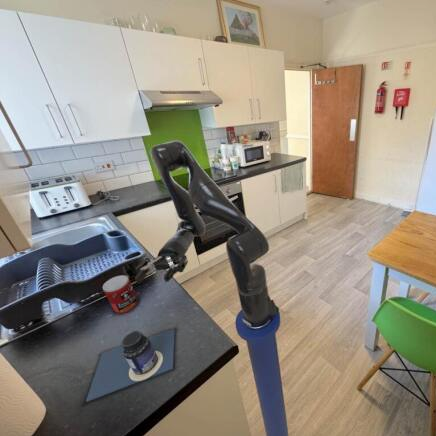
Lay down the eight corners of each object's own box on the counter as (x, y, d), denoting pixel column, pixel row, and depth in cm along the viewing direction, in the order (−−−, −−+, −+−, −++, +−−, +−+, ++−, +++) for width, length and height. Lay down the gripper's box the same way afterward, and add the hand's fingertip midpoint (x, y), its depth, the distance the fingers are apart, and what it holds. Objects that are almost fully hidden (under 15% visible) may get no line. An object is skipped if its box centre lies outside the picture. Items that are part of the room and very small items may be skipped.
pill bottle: (160, 351, 70) (147, 325, 65) (156, 371, 64) (142, 344, 59) (136, 358, 68) (122, 332, 63) (130, 379, 63) (114, 352, 58)
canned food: (121, 317, 83) (108, 293, 78) (110, 308, 87) (97, 285, 82) (143, 302, 88) (132, 279, 83) (132, 295, 92) (121, 272, 87)
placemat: (175, 329, 77) (174, 328, 77) (173, 369, 65) (172, 368, 65) (102, 353, 71) (101, 352, 70) (86, 403, 59) (85, 402, 58)
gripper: (151, 242, 83) (122, 271, 68) (192, 239, 83) (171, 268, 68) (158, 259, 86) (132, 291, 72) (197, 257, 86) (178, 288, 71)
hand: (151, 280), depth 70 cm, fingers open, 8 cm apart
